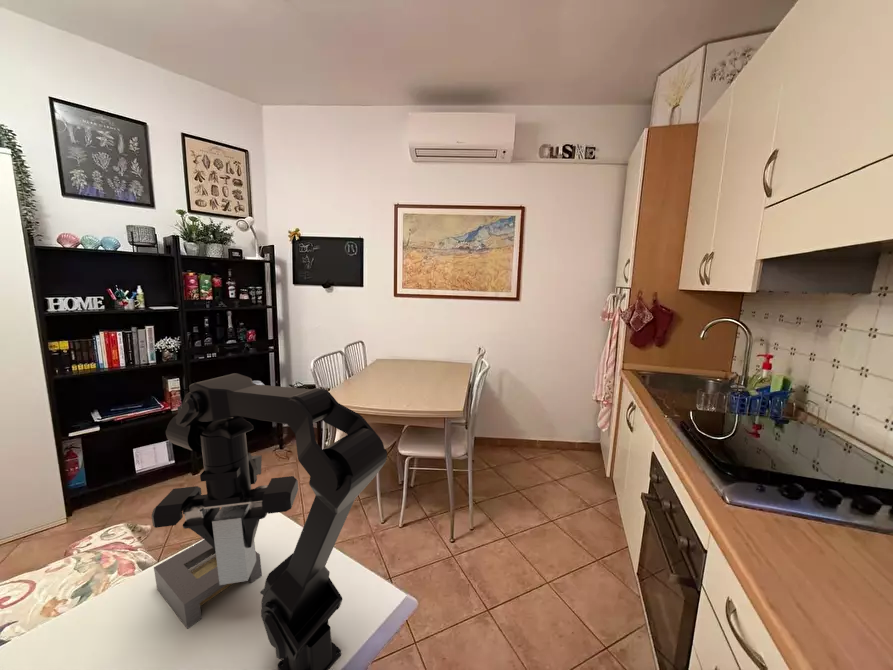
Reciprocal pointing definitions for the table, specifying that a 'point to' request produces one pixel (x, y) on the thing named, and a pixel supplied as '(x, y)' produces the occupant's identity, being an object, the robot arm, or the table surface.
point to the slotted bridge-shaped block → (193, 581)
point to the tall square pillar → (232, 545)
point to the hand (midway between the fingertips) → (236, 547)
